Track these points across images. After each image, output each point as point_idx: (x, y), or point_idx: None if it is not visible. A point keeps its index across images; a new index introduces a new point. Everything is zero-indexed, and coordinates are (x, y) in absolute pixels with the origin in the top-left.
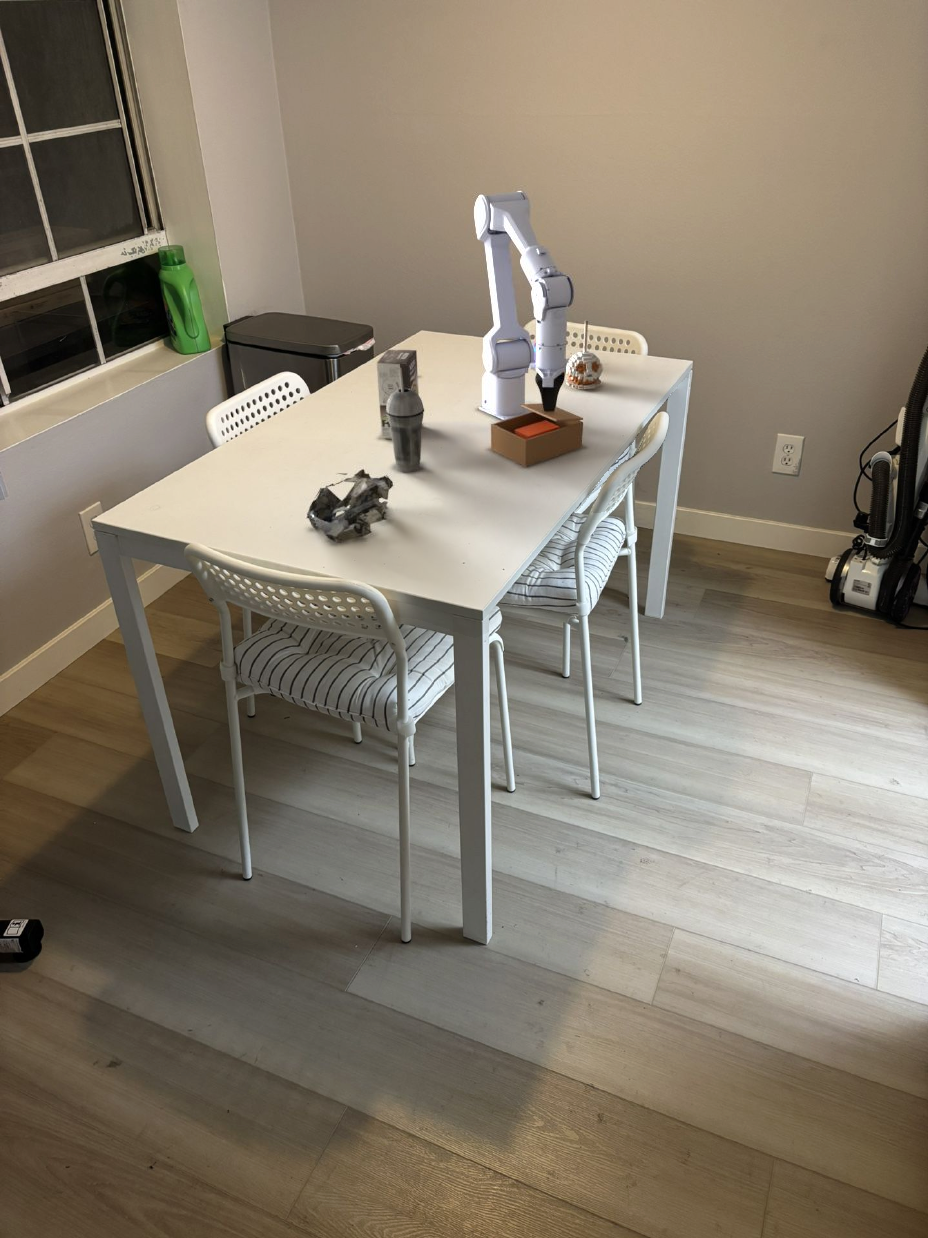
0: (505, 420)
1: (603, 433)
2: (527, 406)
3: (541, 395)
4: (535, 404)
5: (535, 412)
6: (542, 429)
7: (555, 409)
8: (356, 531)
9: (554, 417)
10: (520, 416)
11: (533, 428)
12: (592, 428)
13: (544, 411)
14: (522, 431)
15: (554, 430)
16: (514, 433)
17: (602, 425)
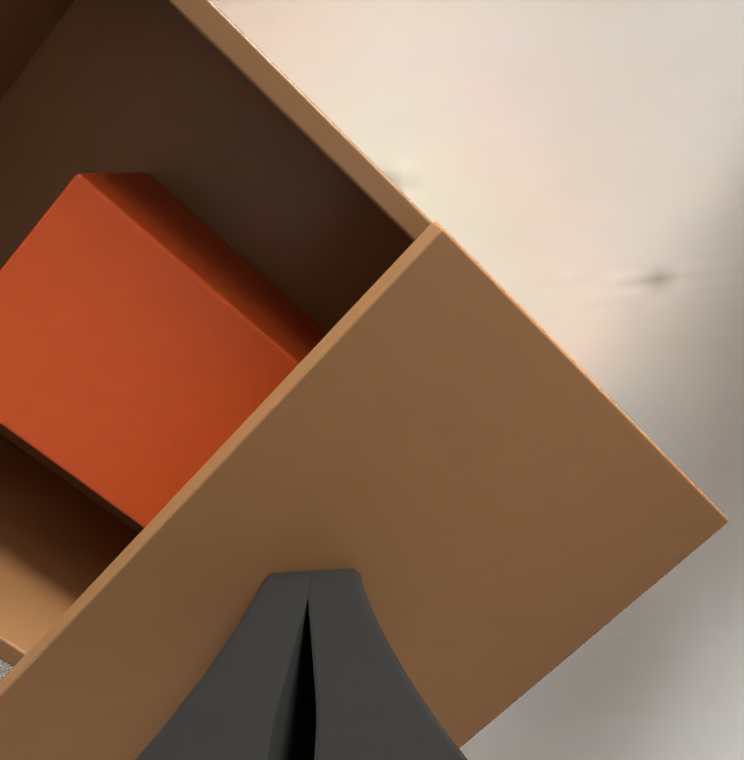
0: (183, 9)
1: (568, 754)
2: (367, 341)
3: (143, 750)
4: (569, 417)
5: (198, 471)
6: (159, 483)
7: (467, 645)
8: None
9: (29, 728)
10: (385, 211)
11: (164, 390)
12: (655, 687)
13: (249, 581)
14: (47, 277)
15: (11, 642)
16: (314, 145)
17: (706, 737)
